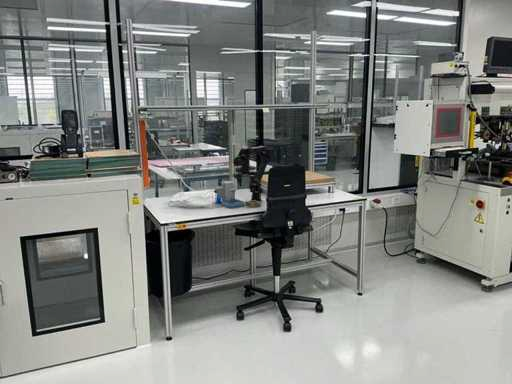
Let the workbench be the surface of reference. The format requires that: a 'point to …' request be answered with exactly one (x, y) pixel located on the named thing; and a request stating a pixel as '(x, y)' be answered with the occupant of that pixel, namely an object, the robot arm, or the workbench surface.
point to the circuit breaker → (225, 190)
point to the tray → (237, 203)
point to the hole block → (252, 203)
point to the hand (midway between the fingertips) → (245, 186)
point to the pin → (232, 195)
